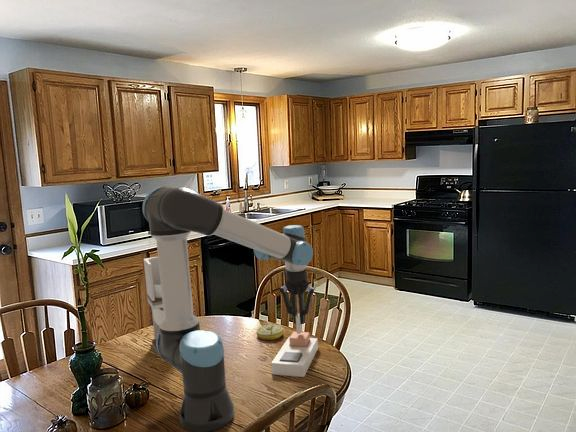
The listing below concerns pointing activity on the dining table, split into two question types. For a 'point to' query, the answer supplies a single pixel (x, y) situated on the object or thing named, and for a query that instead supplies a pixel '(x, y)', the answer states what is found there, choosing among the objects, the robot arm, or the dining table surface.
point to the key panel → (295, 367)
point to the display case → (154, 294)
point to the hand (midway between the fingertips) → (299, 332)
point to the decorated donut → (269, 332)
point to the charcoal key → (291, 357)
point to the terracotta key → (299, 339)
